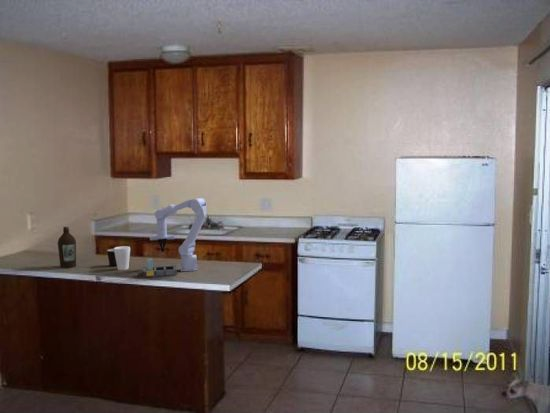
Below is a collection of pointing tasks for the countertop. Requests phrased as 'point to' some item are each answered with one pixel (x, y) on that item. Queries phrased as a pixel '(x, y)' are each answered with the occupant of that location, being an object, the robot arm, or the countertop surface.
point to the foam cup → (122, 257)
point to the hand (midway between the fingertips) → (162, 251)
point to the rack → (160, 271)
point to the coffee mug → (112, 258)
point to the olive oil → (67, 249)
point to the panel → (150, 264)
